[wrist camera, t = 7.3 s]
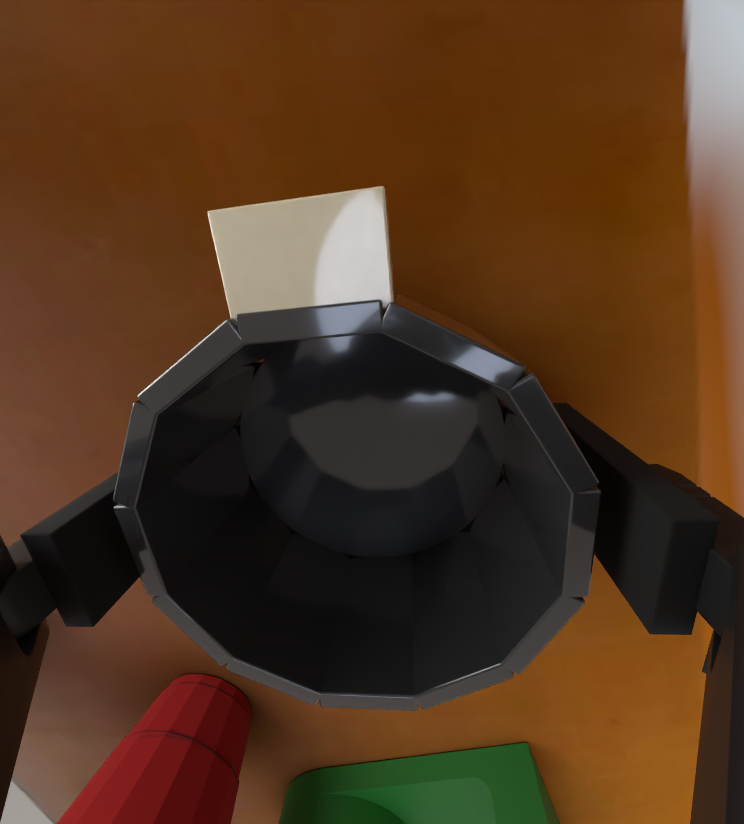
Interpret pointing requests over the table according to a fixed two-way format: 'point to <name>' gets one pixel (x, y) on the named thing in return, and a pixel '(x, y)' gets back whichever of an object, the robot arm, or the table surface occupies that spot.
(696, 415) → the table surface
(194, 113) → the table surface
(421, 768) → the green bracket
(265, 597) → the cooking pot
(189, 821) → the plastic cup
